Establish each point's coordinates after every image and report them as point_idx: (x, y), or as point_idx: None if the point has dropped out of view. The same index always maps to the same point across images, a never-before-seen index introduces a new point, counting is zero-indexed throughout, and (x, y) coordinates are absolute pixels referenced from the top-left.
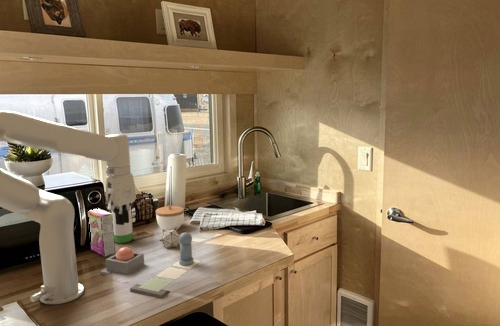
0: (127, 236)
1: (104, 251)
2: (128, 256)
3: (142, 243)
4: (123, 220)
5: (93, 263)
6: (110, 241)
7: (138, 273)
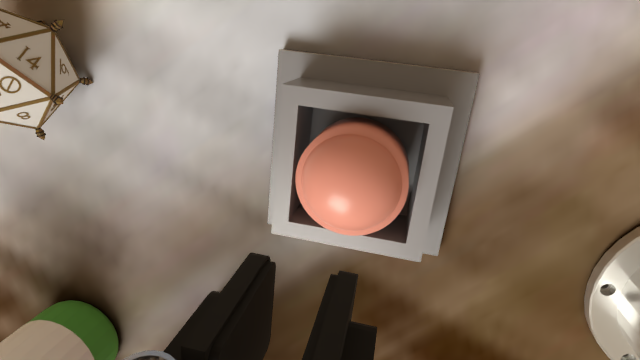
0: (74, 321)
1: None
2: (382, 136)
3: (73, 238)
4: (340, 302)
5: None
6: None
7: None
